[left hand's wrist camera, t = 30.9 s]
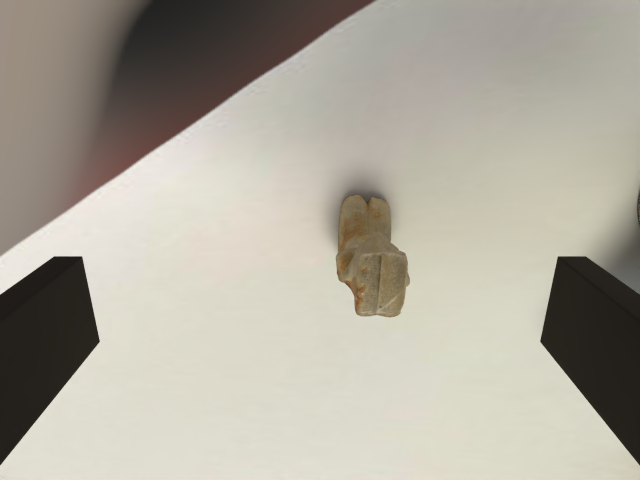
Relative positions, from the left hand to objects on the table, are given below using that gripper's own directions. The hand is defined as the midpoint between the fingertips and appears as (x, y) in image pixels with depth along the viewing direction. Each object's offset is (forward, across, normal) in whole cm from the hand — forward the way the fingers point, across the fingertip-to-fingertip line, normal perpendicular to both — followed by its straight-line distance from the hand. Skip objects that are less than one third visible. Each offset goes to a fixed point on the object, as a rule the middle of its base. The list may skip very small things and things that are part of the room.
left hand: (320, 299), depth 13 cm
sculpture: (+31, +4, -9) cm, 32 cm away
